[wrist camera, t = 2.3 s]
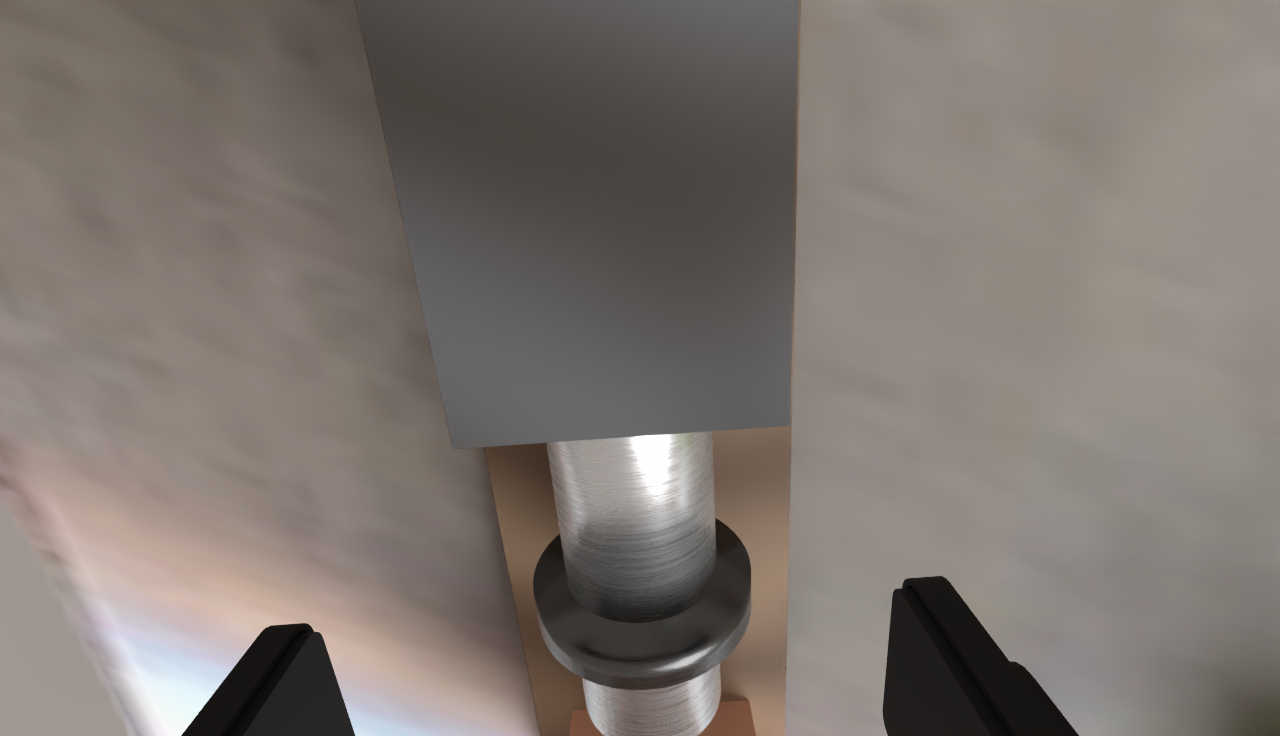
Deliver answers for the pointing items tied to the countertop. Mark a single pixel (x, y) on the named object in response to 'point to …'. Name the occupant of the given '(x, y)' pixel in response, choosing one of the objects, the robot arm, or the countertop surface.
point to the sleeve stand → (606, 260)
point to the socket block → (725, 732)
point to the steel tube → (642, 581)
